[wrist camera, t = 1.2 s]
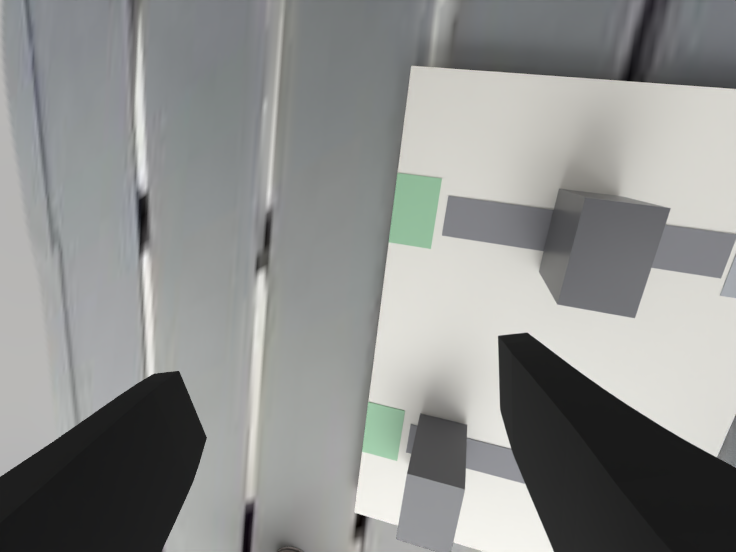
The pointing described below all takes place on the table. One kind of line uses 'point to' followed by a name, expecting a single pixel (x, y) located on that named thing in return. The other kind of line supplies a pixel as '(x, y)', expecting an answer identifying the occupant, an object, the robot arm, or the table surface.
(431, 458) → the on handle
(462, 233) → the switch plate
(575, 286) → the handle
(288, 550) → the lighter
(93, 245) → the table surface
